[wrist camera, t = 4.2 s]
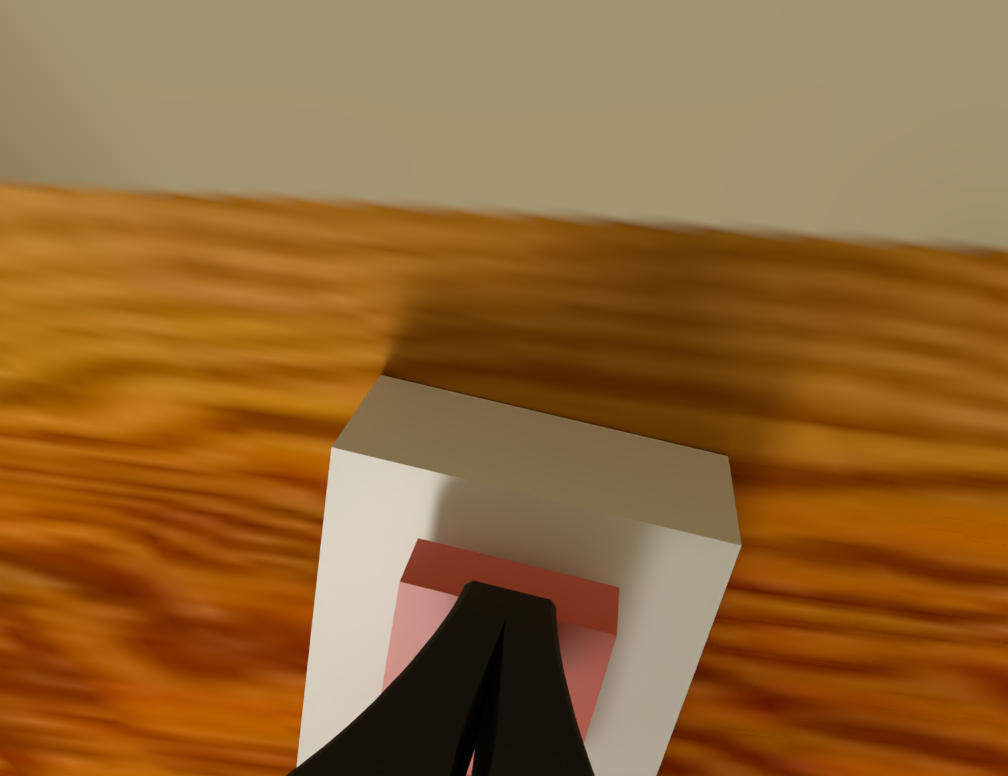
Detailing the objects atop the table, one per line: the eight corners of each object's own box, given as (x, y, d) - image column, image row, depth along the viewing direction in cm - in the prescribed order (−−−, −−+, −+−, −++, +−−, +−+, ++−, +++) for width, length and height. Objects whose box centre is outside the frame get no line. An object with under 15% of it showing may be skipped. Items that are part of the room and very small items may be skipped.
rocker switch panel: (380, 374, 18) (331, 447, 15) (728, 456, 17) (741, 545, 15) (316, 861, 24) (274, 971, 22) (566, 928, 24) (555, 1049, 21)
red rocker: (418, 537, 15) (397, 584, 14) (619, 587, 15) (616, 639, 13) (379, 760, 17) (360, 818, 16) (553, 806, 17) (546, 867, 16)
